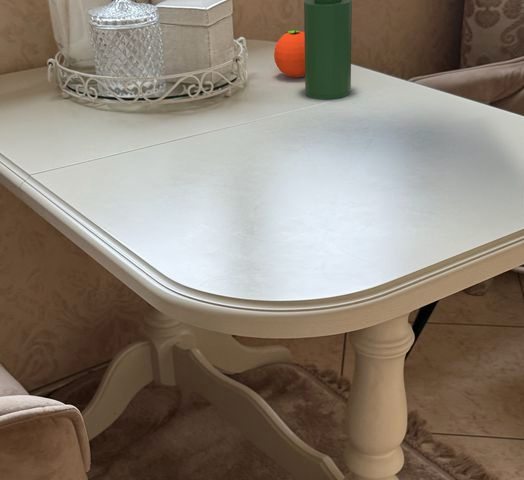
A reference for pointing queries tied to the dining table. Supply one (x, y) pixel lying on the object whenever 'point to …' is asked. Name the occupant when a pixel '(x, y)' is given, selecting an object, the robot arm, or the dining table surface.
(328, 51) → the bottle
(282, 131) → the dining table surface
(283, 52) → the clementine
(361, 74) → the dining table surface
